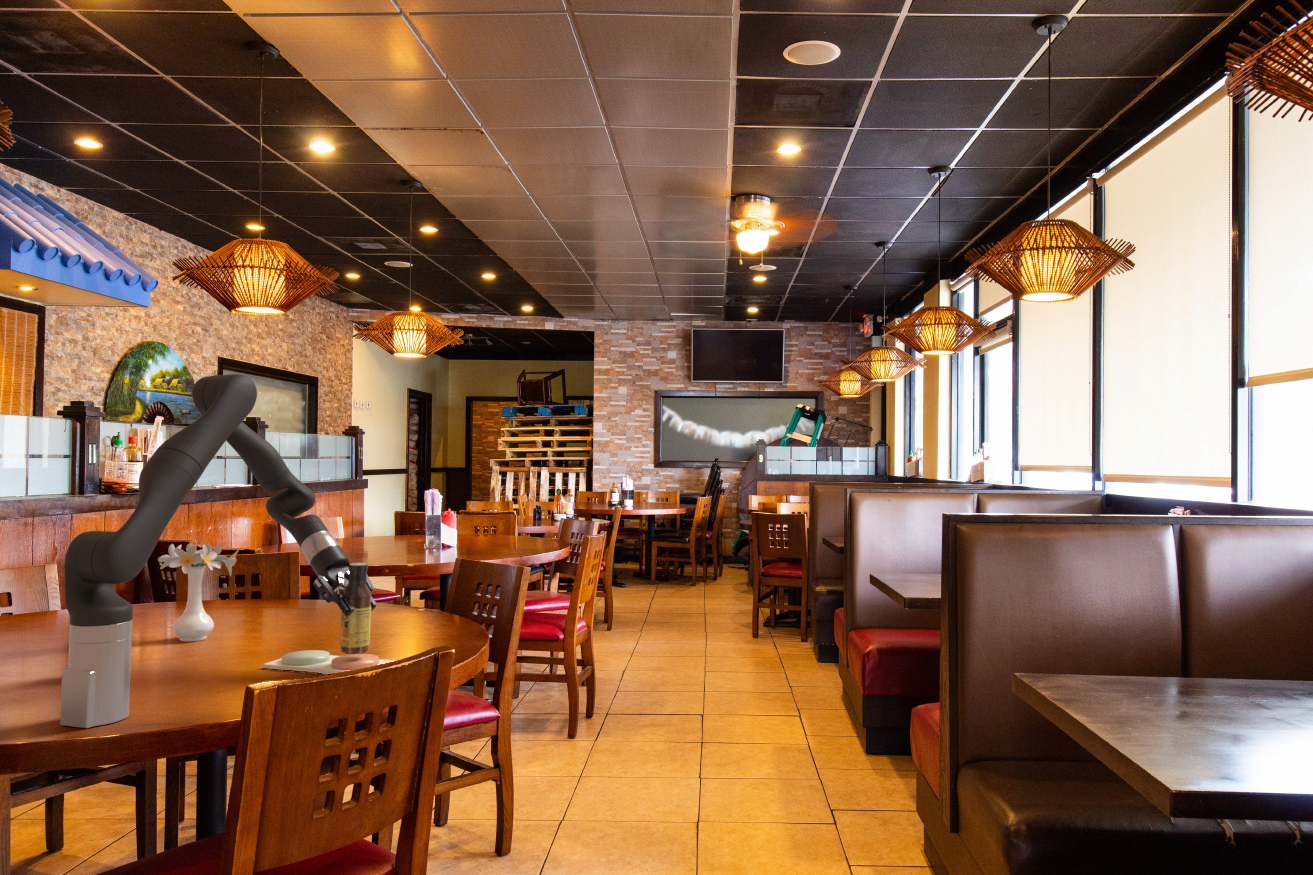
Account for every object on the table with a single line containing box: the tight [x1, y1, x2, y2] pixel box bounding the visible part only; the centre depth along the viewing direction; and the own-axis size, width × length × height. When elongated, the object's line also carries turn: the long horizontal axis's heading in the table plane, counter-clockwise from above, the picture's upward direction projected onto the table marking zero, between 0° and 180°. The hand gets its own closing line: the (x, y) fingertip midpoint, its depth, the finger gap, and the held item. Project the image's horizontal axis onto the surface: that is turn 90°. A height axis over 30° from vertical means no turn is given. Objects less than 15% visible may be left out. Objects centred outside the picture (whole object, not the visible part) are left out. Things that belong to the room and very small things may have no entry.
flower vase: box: [157, 542, 240, 643], centre depth 211 cm, size 13×18×25 cm
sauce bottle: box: [339, 562, 372, 655], centre depth 182 cm, size 7×6×20 cm
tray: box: [262, 649, 397, 675], centre depth 183 cm, size 12×26×2 cm, turn 75°
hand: (361, 610), depth 181 cm, fingers closed on sauce bottle, 6 cm apart
